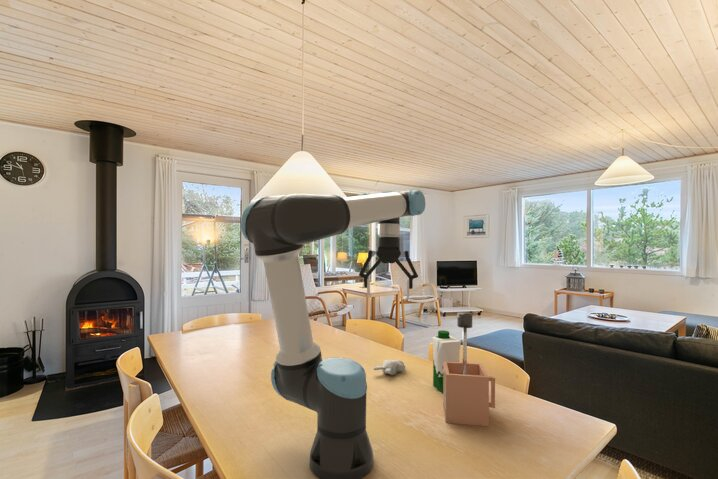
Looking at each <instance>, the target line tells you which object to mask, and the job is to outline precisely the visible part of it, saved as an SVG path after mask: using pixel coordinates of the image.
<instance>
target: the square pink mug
mask: <svg viewBox="0 0 718 479" xmlns="http://www.w3.org/2000/svg"><path fill="white" fill-rule="evenodd" d="M489 394H490V395H489ZM442 404H443V405H442V406H443V412H444V413H443V414H444V418H445V420H444V421H445V423H447V424H448V423H449V424H456V425H457V424H460V425H471V426H480V425H482V426H483V427H489V425H490V424H489V423H490V420H489V419H490V418H489V417H490V416H489V413H490V412H489V411H490V409H489V408H491V409H496V377H495V376H489V375H488V373H487V371H486V369H485V367H484V366H483V363H481V362H480V363H479V362H477V363H476V362H467V375H463V361H462V362H461V361H459V362H448V361H443V393H442Z"/></svg>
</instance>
